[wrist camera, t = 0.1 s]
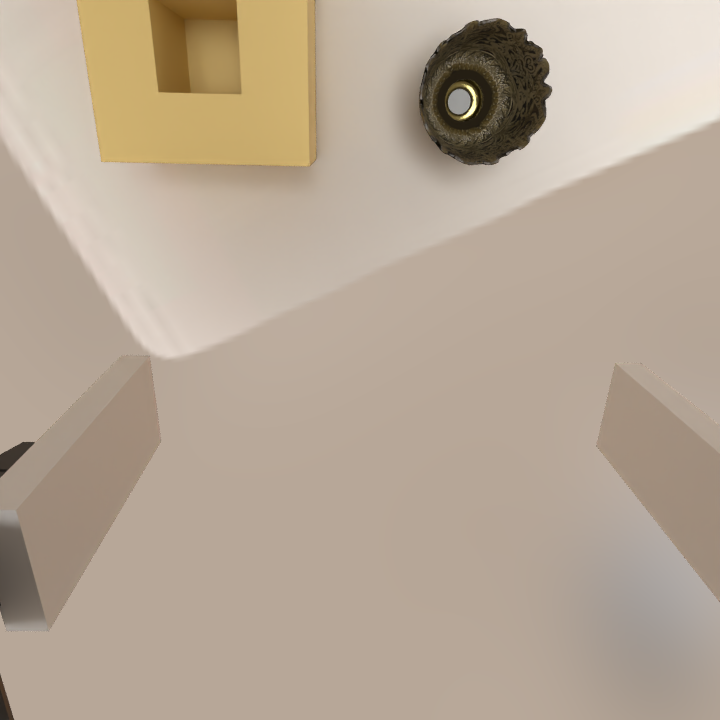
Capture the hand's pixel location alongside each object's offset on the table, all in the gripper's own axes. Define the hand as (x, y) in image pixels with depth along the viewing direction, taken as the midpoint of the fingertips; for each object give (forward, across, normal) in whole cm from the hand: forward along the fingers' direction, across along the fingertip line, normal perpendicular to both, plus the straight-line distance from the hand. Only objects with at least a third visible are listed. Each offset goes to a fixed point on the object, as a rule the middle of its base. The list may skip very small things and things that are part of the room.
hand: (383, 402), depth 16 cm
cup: (+28, +7, +9) cm, 30 cm away
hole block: (+28, -9, +11) cm, 31 cm away
